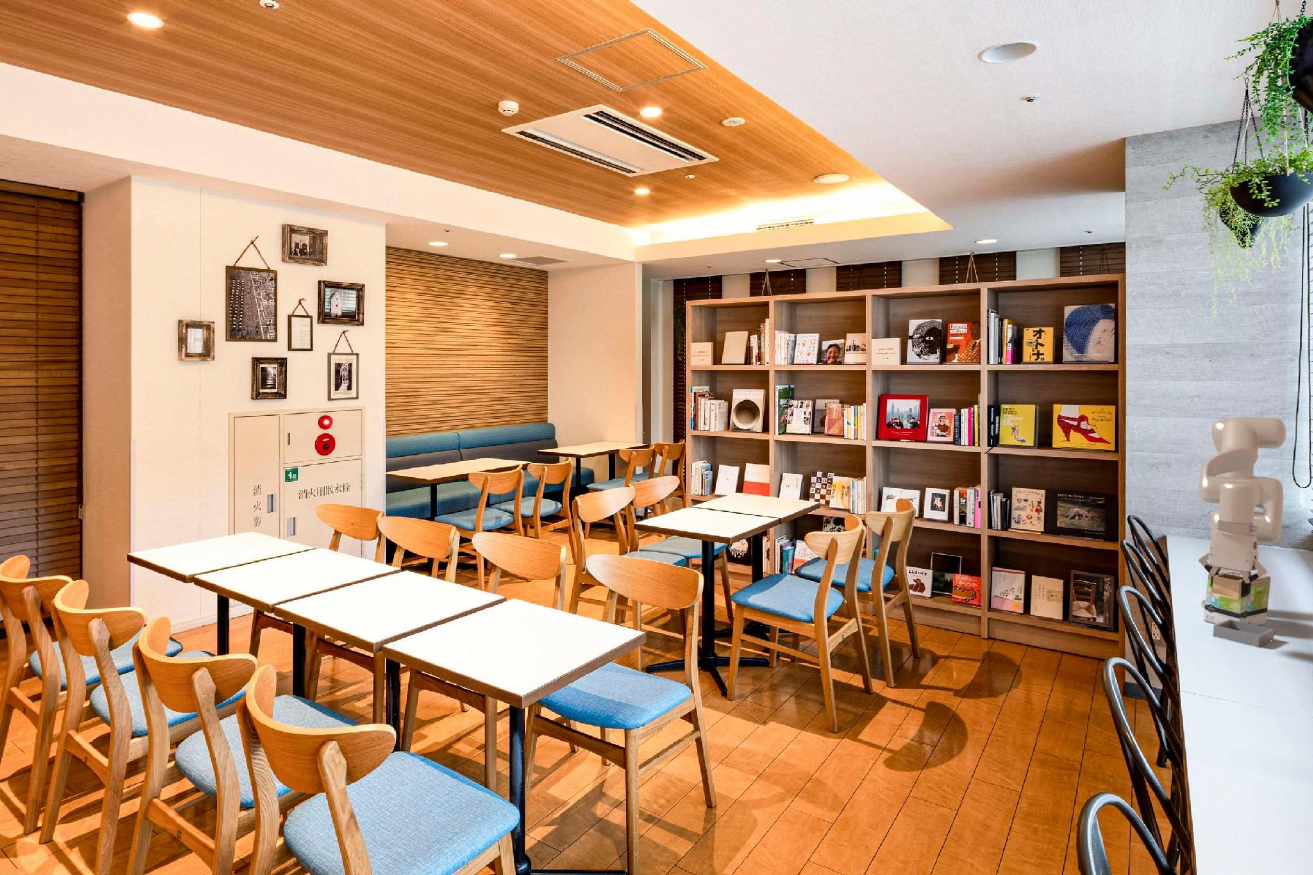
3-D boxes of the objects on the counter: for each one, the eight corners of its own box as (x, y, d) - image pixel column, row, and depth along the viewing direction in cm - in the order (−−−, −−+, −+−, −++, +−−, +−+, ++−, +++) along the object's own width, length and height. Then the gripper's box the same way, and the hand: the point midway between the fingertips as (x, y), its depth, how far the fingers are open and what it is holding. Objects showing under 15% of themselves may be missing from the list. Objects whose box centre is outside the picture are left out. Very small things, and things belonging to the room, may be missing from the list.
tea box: (1240, 631, 219) (1244, 581, 218) (1202, 621, 228) (1206, 572, 227) (1267, 624, 226) (1271, 575, 225) (1229, 614, 235) (1233, 567, 234)
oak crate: (1221, 590, 210) (1222, 572, 210) (1247, 596, 205) (1248, 578, 205) (1211, 594, 207) (1213, 576, 206) (1238, 599, 202) (1239, 581, 201)
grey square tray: (1228, 629, 221) (1229, 619, 220) (1273, 640, 212) (1274, 629, 211) (1212, 635, 215) (1213, 625, 214) (1258, 647, 206) (1259, 636, 206)
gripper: (1279, 532, 199) (1274, 599, 201) (1204, 520, 213) (1199, 583, 215) (1268, 535, 195) (1262, 604, 197) (1192, 523, 209) (1187, 587, 211)
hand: (1229, 592), depth 206 cm, fingers closed on oak crate, 6 cm apart
